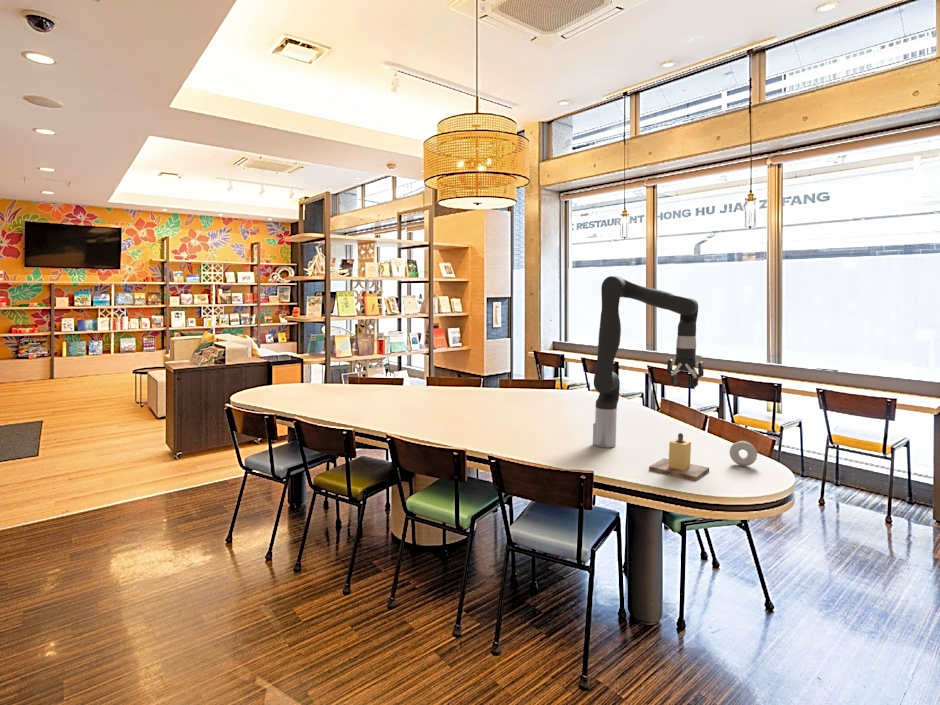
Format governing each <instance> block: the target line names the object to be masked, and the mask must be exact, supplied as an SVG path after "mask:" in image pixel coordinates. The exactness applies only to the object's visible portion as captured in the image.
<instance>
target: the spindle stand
mask: <svg viewBox="0 0 940 705" xmlns="http://www.w3.org/2000/svg"><path fill="white" fill-rule="evenodd" d="M677 439H678V443H683V440H684V435H683V433H682V432H679V433H678V434H677ZM668 466H669V458H665V457H663V458H661V459H659V460H658V461H656V462H655V463H653V464H651V465H649V466H648V471H651V470H653V471H652V472H655V471H657V472H656V473H659V472H662V473H661V474H664V473H666V474H665V475H668V474H670V475H669V476H673V475H674V476H673V477H677V476H679V477H678V478H681V477H683V478H682V479H686V478H688V479H687V480H690V479H691V481H695V480H696V481H698V480H699V479H701V478H702V477H703V476H705V475H706V474H707V472H708V473H710V467H707V466H703V465H698V464H695V463H694V464H693V463H690V467H689V468H687V469H686V470H679V469H675V468H670V467H668ZM704 474H705V475H704ZM701 476H702V477H701ZM700 477H701V478H700ZM697 479H698V480H697Z"/></svg>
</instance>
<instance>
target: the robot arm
mask: <svg viewBox="0 0 940 705" xmlns="http://www.w3.org/2000/svg"><path fill="white" fill-rule="evenodd" d="M600 291H601V313H600V321H599V330H598V343H597V344H598V346H597V355H596V356H597V358H596V366H595V372H594V375H593V376H594V377H593V387H594V389H595V391H596V392H597V393H598V397H597V399H595V400H596V401H595V410H594V412H595V413H594V414H595V415H594V418H595V419H594V423H593V424H592V425H593V426H592V445H595V446H596V447H600V448H604V449H605V448H614V447H616V445H617V444H616V443H617V439H616V438H617V411H618V404H619V399H620V387H621V386H620V377H619V376H618V374H617V373H616V372H614V371H613V366H614V363H615V362H614V360H615V358H616V355H617V352H618V350H619V347H620V345H621V335H622V326H621V325H622V324H621V319H620V313H619V312H620V310H619V306H620V299H621V298H625V299H626V298H627V299H632V300H636V301H639V302H641V303H643V304H647V305H649V306H652V307H655V308H658V309H663V310H668V311H670V312H673V313H676V314H679V322H678V325H677V336H676V337H677V338H676V342H675V343H676V349H675V351H676V353H675V359H672V358H671V359H668V360H667V367H666V373H667V374H668V375H670V382H671V385H673V386H674V385H676V384H677V374H678V373H679V372H687V373H688V372H689V373H690V374H691V375H692V387H693V388H696V387H697V386H699V378H702V377H704V362H703V361H700V362H699V361H697V362H696V355H697V354H696V353H697V337H696V336H697V319H698V315H699V314H698V313H699V304H698V301H697V300H696V299H694V298H692V297H686V296H685V297H684V296H680V295H676V294H674V293H671V292H668V291H663V290H660V289H656V288H653V287H652V288H651V287H647V286H643V285H639V284H636V283H633V282H630V281H629V280H626V279H625V278H622V277H621V276H617V275H616V276H615V275H610V276H607V277H606V278H604V280H603V282H602V284H601V290H600ZM674 364H675V366H676V367H675V368H674V369H673V365H674ZM695 367H697V370H698V372H697V370H696V369H695Z"/></svg>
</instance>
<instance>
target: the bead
mask: <svg viewBox="0 0 940 705" xmlns="http://www.w3.org/2000/svg"><path fill="white" fill-rule="evenodd" d="M668 446H669V447H668V448H669V449H668V459H669V466H668V467H670V468H675V469H679V470H686V469H687V468H689V467H690V464H691V453H692V452H691V451H692V450H691V449H692V441H690V440H684V439H683V443H678V438H675V439H673V440H671V441H669V445H668Z"/></svg>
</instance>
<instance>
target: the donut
mask: <svg viewBox="0 0 940 705" xmlns="http://www.w3.org/2000/svg"><path fill="white" fill-rule="evenodd" d="M741 450H744V451H745V452H746V453H747V456H745V457H743V456H741V455H740V454H739V452H740V451H741ZM729 457H730V458H731V460H732V462H734V463H735V464H737V465H739V466H742V467H748V466H751V465H753V464H754V463H755V462H756V460H757V458H758V452H757V448H756V447H755V446H754V445H753V444H752V443H750V442H748V441H745V440H739V441H736V442H734V443H732V444H731V446H730V448H729Z"/></svg>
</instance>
